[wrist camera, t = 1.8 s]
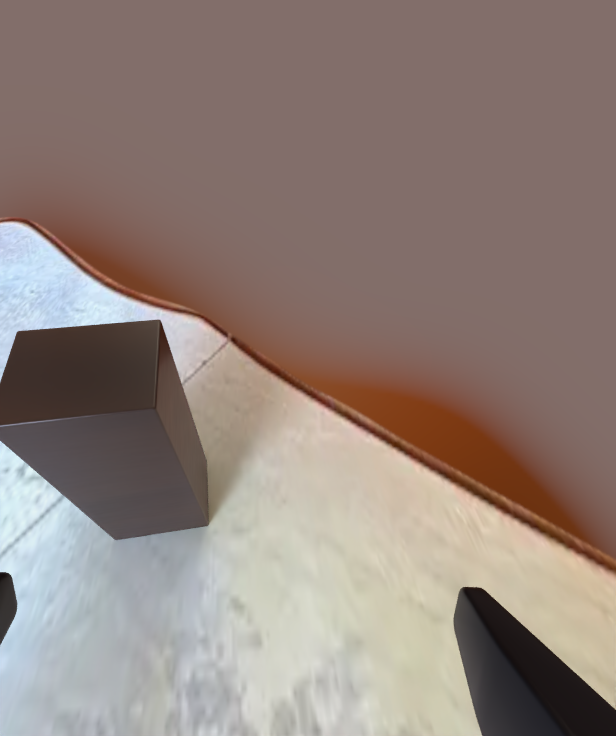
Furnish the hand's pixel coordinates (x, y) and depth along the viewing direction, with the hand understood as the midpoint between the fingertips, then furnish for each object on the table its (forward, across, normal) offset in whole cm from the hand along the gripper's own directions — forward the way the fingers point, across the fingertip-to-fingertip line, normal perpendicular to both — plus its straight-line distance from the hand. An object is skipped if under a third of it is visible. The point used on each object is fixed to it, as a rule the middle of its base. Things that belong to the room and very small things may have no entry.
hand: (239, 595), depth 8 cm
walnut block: (+14, +6, +8) cm, 17 cm away
